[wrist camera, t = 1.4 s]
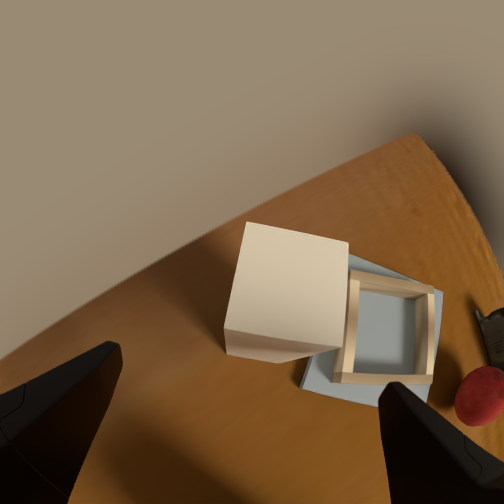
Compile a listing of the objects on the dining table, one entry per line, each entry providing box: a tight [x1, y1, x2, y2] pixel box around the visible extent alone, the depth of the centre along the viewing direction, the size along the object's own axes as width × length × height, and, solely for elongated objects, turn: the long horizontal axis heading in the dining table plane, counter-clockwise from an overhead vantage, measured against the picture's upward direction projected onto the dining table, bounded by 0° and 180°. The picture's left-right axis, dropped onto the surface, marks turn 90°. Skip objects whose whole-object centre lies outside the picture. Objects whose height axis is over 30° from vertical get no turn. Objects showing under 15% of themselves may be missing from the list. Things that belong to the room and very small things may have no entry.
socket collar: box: [331, 270, 435, 385], centre depth 19 cm, size 9×9×2 cm
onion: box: [455, 366, 504, 426], centre depth 15 cm, size 6×6×8 cm
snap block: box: [224, 222, 348, 363], centre depth 15 cm, size 4×4×12 cm
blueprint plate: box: [299, 254, 443, 407], centre depth 21 cm, size 12×12×1 cm
